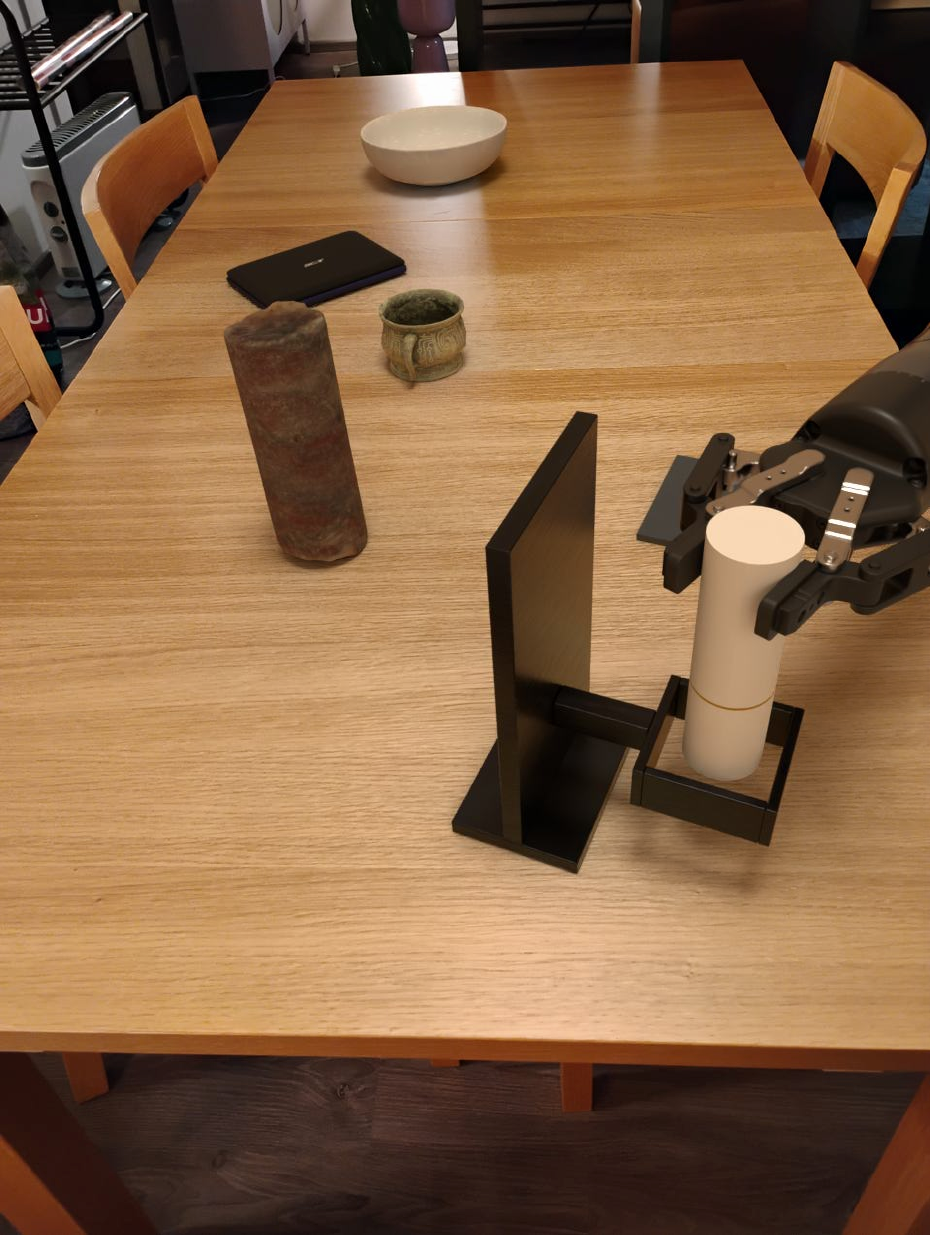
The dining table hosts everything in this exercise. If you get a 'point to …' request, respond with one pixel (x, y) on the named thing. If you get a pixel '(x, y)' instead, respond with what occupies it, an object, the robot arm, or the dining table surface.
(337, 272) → the laptop
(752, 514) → the tube
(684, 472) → the mat
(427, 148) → the serving bowl
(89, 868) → the dining table surface
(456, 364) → the vessel
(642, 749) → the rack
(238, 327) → the candle
